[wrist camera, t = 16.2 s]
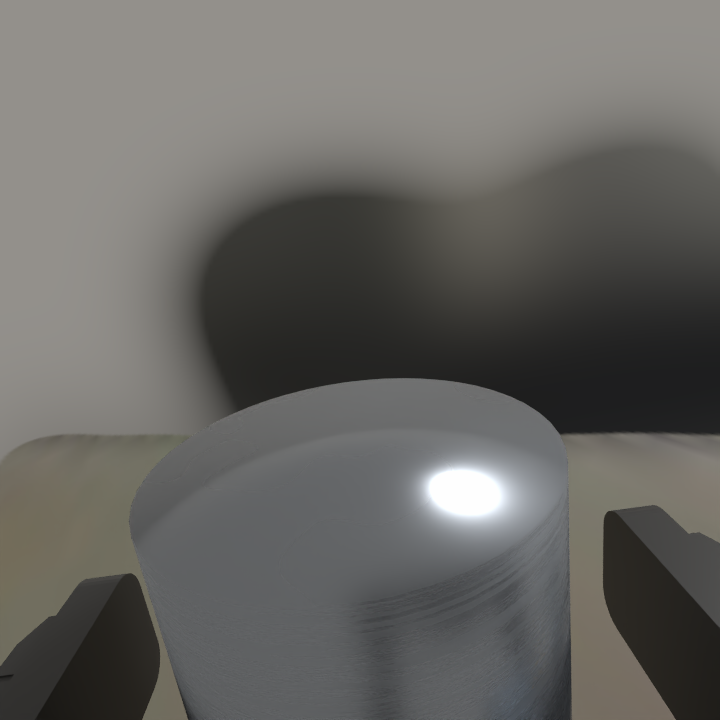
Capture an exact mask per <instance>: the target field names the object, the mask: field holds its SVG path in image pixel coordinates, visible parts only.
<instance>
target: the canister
mask: <svg viewBox="0 0 720 720" xmlns="http://www.w3.org/2000/svg"><path fill="white" fill-rule="evenodd" d="M129 525H130V532H131V538H132V541H133V544H134V547H135V551H136V554H137V557H138V560H139V563H140V567H141V570H142V573H143V576H144V579H145V583H146V586H147V589H148V592H149V595H150V599H151V602H152V605H153V608H154V611H155V615H156V618H157V621H158V624H159V627H160V630H161V634H162V637H163V640H164V643H165V646H166V650H167V653H168V656H169V659H170V662H171V666H172V669H173V672H174V675H175V678H176V682H177V685H178V688H179V691H180V694H181V697H182V701H183V704H184V707H185V710H186V713H187V717H188V720H572V704H571V635H570V565H569V495H568V459H567V453H566V447H565V445H564V443H563V441H562V439H561V437H560V434H559V433H558V432H557V431H556V429H555V428H554V427H553V425H552V424H551V423H550V422H549V421H548V420H547V419H546V418H544V417H543V416H542V415H541V414H540V413H538V412H537V411H535V410H534V409H532V408H531V407H529V406H528V405H526V404H525V403H523V402H520V401H518V400H516V399H514V398H512V397H510V396H507V395H504V394H502V393H499V392H496V391H493V390H490V389H486V388H482V387H478V386H474V385H469V384H464V383H459V382H451V381H443V380H432V379H408V378H400V379H376V380H363V381H354V382H346V383H339V384H334V385H327V386H322V387H317V388H312V389H308V390H303V391H299V392H295V393H291V394H288V395H285V396H281V397H278V398H274V399H271V400H268V401H265V402H262V403H260V404H256V405H254V406H251V407H249V408H246V409H244V410H241V411H239V412H236V413H234V414H232V415H230V416H228V417H225V418H223V419H221V420H219V421H217V422H215V423H213V424H211V425H210V426H208V427H206V428H204V429H202V430H201V431H199V432H197V433H196V434H194V435H193V436H191V437H190V438H188V439H186V440H185V441H184V442H182V443H181V444H180V445H178V446H177V447H176V448H174V449H173V450H172V451H170V452H169V453H168V454H167V455H166V456H165V457H164V458H163V459H162V460H161V461H160V462H158V463H157V465H156V466H155V467H154V468H153V469H152V470H151V472H150V473H149V474H148V475H147V476H146V478H145V479H144V481H143V482H142V484H141V485H140V487H139V489H138V490H137V492H136V495H135V497H134V500H133V502H132V505H131V511H130V518H129Z"/></svg>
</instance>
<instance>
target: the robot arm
mask: <svg viewBox="0 0 720 720" xmlns="http://www.w3.org/2000/svg"><path fill="white" fill-rule="evenodd" d="M603 590H604V596H605V600H606V604H607V607H608V610H609V613H610V616H611V618H612V620H613V622H614V624H615V626H616V628H617V629H618V631H619V632H620V634H621V635H622V637H623V639H624V640H625V642H626V643H627V645H628V646H629V648H630V649H631V651H632V652H633V654H634V655H635V657H636V659H637V660H638V662H639V663H640V665H641V666H642V668H643V669H644V671H645V672H646V674H647V675H648V677H649V679H650V680H651V682H652V683H653V685H654V686H655V688H656V689H657V691H658V692H659V694H660V696H661V697H662V699H663V700H664V702H665V703H666V705H667V706H668V708H669V709H670V711H671V712H672V714H673V716H674V717H675V719H676V720H720V543H718V542H716V541H715V540H713V539H711V538H709V537H707V536H705V535H703V534H701V533H691V534H688V533H687V532H686V531H685V530H684V529H683V528H682V527H681V526H680V525H679V524H678V523H677V522H675V521H674V520H673V519H672V518H671V517H670V516H669V515H668V514H667V513H666V512H665V511H664V510H663V509H661V508H660V507H658V506H655V505H651V506H643V507H636V508H628V509H621V510H613V511H608V512H607V513H606V515H605V517H604V540H603ZM159 667H160V649H159V643H158V640H157V637H156V633H155V630H154V627H153V624H152V621H151V618H150V615H149V611H148V608H147V605H146V602H145V599H144V596H143V593H142V589H141V586H140V583H139V581H138V579H137V578H136V576H135V575H133V574H130V573H129V574H121V575H114V576H106V577H98V578H91V579H85V580H83V581H82V582H81V583H79V585H78V586H77V587H76V588H75V590H74V591H73V593H72V594H71V595H70V597H69V598H68V600H67V601H66V602H65V604H64V605H63V607H62V608H61V609H60V611H59V612H58V614H57V615H56V616H51V617H48V618H47V619H46V620H45V621H44V622H43V623H41V624H40V625H39V626H38V627H37V628H36V629H35V630H33V631H32V632H31V633H30V634H29V635H28V636H26V637H25V638H24V639H23V640H22V641H21V642H20V643H18V644H17V645H16V647H15V648H14V649H13V651H12V652H11V653H10V655H9V656H8V657H7V659H6V660H5V661H4V662H3V664H2V665H1V666H0V720H142V718H143V716H144V713H145V711H146V708H147V706H148V703H149V701H150V698H151V696H152V693H153V691H154V688H155V685H156V682H157V678H158V674H159Z"/></svg>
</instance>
